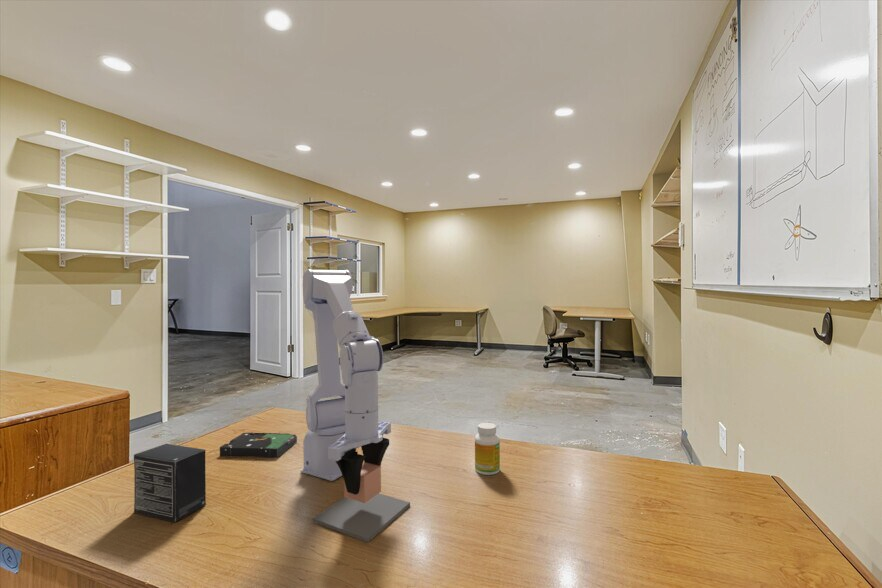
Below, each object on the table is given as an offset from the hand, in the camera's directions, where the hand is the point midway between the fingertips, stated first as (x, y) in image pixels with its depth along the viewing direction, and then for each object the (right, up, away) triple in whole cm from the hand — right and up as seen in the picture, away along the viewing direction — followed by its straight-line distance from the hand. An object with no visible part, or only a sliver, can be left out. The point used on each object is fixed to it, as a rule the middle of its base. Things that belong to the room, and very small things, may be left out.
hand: (362, 486), depth 70 cm
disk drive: (-32, -6, +30) cm, 44 cm away
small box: (-35, -5, +2) cm, 36 cm away
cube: (0, -1, 0) cm, 1 cm away
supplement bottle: (+24, -5, +17) cm, 30 cm away
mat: (0, -5, 0) cm, 5 cm away
